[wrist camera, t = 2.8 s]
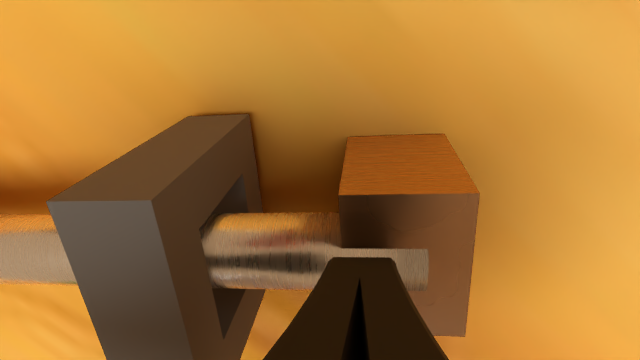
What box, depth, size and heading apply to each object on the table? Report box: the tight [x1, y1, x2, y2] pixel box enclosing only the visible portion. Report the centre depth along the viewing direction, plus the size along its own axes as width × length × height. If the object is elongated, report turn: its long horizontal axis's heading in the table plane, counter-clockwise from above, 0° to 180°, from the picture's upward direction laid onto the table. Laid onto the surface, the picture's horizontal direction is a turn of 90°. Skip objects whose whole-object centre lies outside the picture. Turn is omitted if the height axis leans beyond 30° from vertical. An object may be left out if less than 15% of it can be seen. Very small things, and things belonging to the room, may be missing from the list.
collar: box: [46, 114, 266, 360], centre depth 11 cm, size 2×6×6 cm, turn 4°
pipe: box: [0, 134, 480, 337], centre depth 12 cm, size 22×4×5 cm, turn 94°
